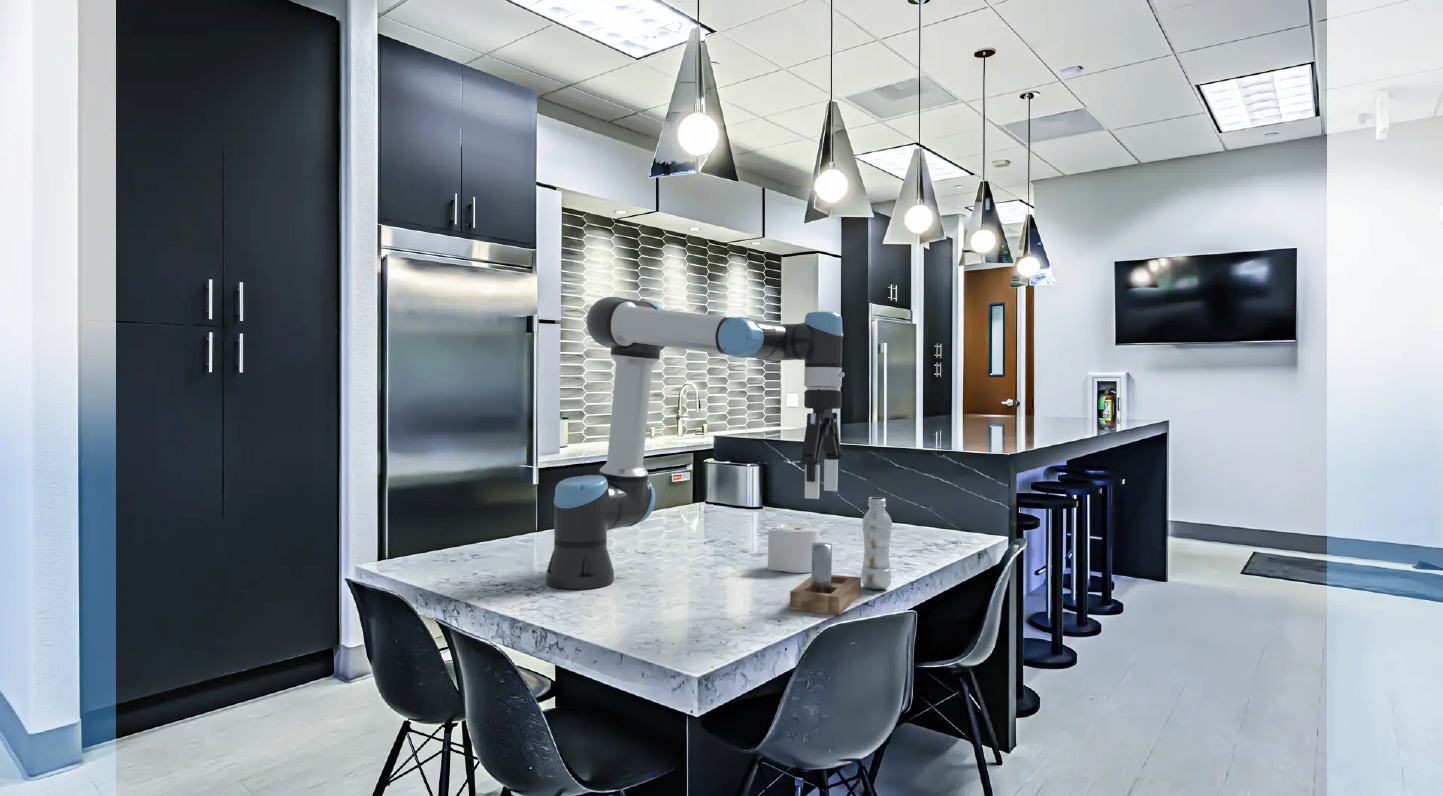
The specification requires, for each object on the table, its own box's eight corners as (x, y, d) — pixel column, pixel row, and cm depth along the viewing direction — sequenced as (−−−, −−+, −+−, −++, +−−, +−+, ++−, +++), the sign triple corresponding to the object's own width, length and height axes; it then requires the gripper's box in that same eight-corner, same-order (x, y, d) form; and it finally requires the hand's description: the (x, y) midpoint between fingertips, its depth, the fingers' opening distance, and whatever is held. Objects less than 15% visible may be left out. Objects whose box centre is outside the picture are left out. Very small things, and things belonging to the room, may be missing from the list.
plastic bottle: (871, 583, 176) (872, 495, 176) (897, 589, 172) (898, 498, 172) (854, 588, 172) (855, 497, 172) (880, 594, 167) (881, 501, 167)
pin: (808, 605, 156) (809, 545, 156) (814, 600, 159) (815, 541, 159) (827, 607, 154) (828, 546, 154) (833, 602, 158) (834, 543, 158)
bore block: (790, 609, 155) (790, 591, 155) (815, 588, 171) (816, 572, 171) (839, 615, 151) (839, 597, 151) (860, 593, 167) (860, 577, 167)
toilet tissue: (826, 567, 193) (826, 527, 193) (805, 576, 183) (806, 534, 183) (787, 562, 199) (787, 523, 198) (765, 571, 188) (765, 529, 188)
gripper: (824, 388, 144) (822, 503, 144) (856, 389, 167) (854, 488, 167) (785, 388, 147) (784, 500, 147) (822, 389, 170) (820, 486, 170)
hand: (821, 494), depth 157 cm, fingers open, 13 cm apart
